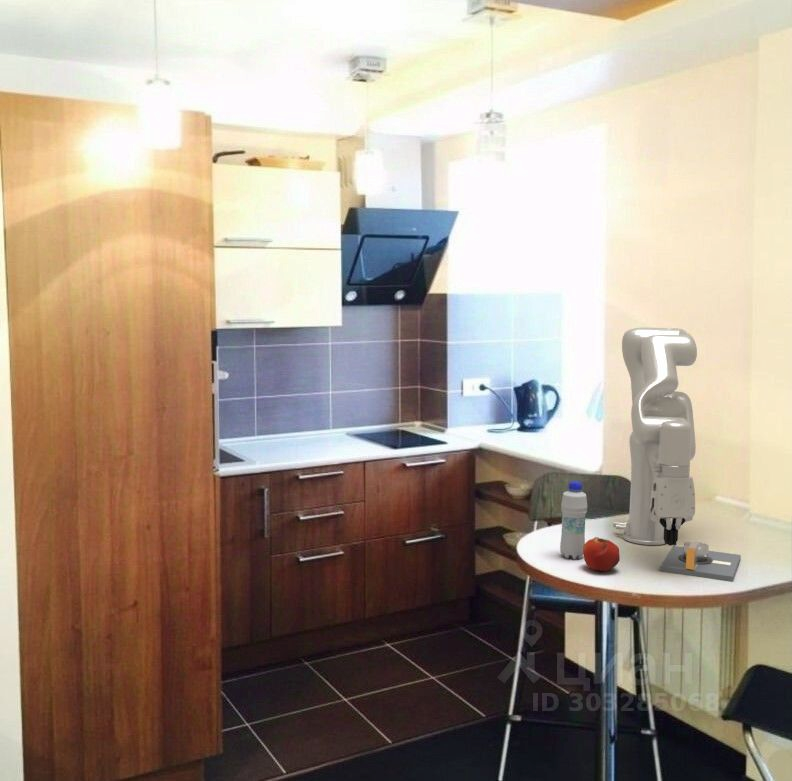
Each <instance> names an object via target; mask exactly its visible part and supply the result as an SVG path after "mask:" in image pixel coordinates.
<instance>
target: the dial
mask: <svg viewBox="0 0 792 781" xmlns="http://www.w3.org/2000/svg"><path fill="white" fill-rule="evenodd" d="M683 547H684V550H683V558H684V559H686V569H691V570H694V568H695V566H696V564H697V562H705V561H708V551H709V549H710V547H709V545H708V544H707V543H705V542H704V543H703V542H700V541H687V542H684V543H683Z"/></svg>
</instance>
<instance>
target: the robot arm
mask: <svg viewBox="0 0 792 781" xmlns="http://www.w3.org/2000/svg"><path fill="white" fill-rule="evenodd" d="M621 352H622V358H623V361H624V364H625V366H626V369H627V372H628V374H629V375H628V376H629V377H630V390H631V401H632V402H631V404H632V405H631V412H630V414H631V415H630V417H631V419H630V420H631V428H632V432H631V433H630V436H629V443H628V444H629V452H630V453H629V454H630V467H631V468H630V470H631V471H630V494H629V495H630V496H629V514H628V517H629V518H628V520H625V521H620V520H613V522H612V523H613V525H612V526H613V528H615V529H616V530H623V533H622V539H624V540H626V541H627V542H628V543H629V542H630V543H633V544H636V545H643V546H644V545H645V546H661V545H667V546H669V547H670V546H672V547H673V546H677V542H678V540H679V530H680V529H681V527H682V526H683V524H685V523H687V522H691V521H693V518H694V516H695V514H696V492H695V482H694V478H693V477H692V476H690V470H691V461H692V460H693V459H694V458H695V456H696V449H697V447H696V446H697V445H696V433H695V422H694V411H693V405H692V404H693V403H692V401H691V398H690V396H689V395H688V394H687V393H685V392H683V391H679V390H678V391H677V389H678V386H679V379H678V372H677V367H689V366H693V365H694V364H695V363H696V359H697V356H698V348H697V343H696V341H695V339H694V337H693V336H692V335H691V334H690V333H689V332H687V331H686V330H684V329H682V328H679V327H678V328H675V327H674V328H672V327H635V328H630V329H628V330H627V331H625V332H624V334H623V336H622V340H621Z"/></svg>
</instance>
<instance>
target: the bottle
mask: <svg viewBox="0 0 792 781" xmlns="http://www.w3.org/2000/svg"><path fill="white" fill-rule="evenodd" d="M582 489H583V483H581V482H580V481H577V480H571V481H570V482H569V484H568V490H566V491H564V492H563V494H562V499H561V503H560V504H561V505H560V507H561V509H560V510H561V514H562V515H561V536H560V544H559V545H560V547H559V549H560V550H559V551H560V555H561V556H562V558H563V557H564V558H566V559H570V556H572V557H571V558H572V560H576V559H579V560H580V559H581V558H583V557H584V555H583V546H584V544H585V543H586V541H585V540H586V538H585V535H586V534H585V533H586V531H585V530H586V514H587V512H588V500H587V494H586V493H585V492H584V491H582Z"/></svg>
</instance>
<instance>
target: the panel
mask: <svg viewBox="0 0 792 781" xmlns="http://www.w3.org/2000/svg"><path fill="white" fill-rule="evenodd" d="M683 550H684V546H678V545H676V546H674V545H672V547H671V549H670V550H669V551H668V553H667V555H666V556H665V558H664V560H663V561H662V563H661V565H660V568H659V571H660V572H664V571H666V573H671V572H672V573H673V574H678V575H684V576H685V575H686V576H692V577H700V578H706V579H711V580H712V579H713V580H720V581H727V582H733V581H734V578H735V575H736V573H737V570H738V568H739V565H740V561H741V558H742V557H741V556H742V555H741V554H738V553H737V554H735V553H728V552H721V551H714V550H708V561H705V562H697V564H696V566H695V568H694V570H691V569H686V559H684V558H683ZM672 573H671V574H672Z"/></svg>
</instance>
